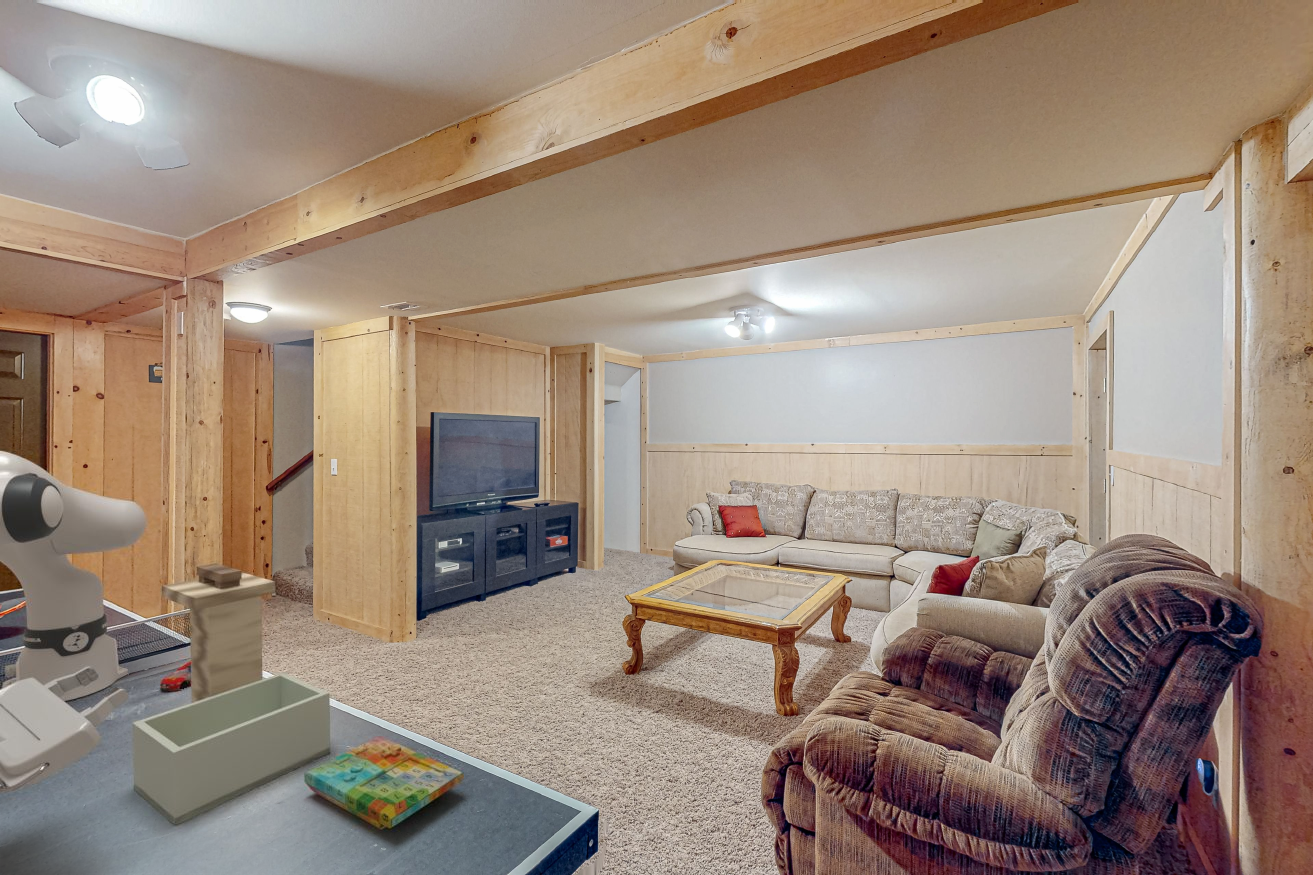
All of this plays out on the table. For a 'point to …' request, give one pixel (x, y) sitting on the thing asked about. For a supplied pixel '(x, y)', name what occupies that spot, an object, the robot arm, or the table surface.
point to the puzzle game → (382, 781)
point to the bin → (228, 744)
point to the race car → (177, 679)
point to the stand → (222, 627)
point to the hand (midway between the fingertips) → (109, 681)
